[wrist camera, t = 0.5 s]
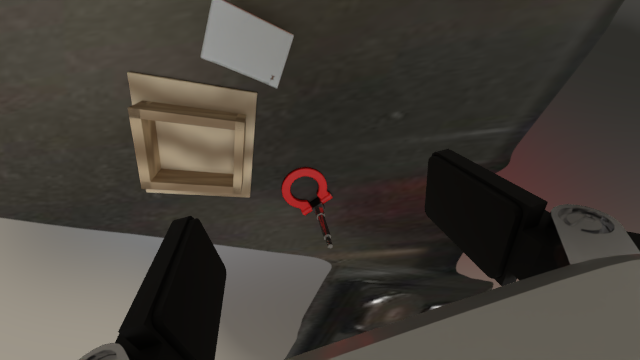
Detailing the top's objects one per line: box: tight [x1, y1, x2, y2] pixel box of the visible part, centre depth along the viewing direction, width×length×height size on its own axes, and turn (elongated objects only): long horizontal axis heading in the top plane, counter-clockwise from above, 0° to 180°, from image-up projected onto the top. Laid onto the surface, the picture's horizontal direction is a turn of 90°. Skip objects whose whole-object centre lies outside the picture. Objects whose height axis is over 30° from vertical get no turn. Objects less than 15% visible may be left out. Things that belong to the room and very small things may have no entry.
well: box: [127, 72, 257, 197], centre depth 35 cm, size 18×16×5 cm
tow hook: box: [282, 167, 333, 248], centre depth 40 cm, size 8×13×9 cm
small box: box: [201, 0, 294, 88], centre depth 28 cm, size 8×6×10 cm
